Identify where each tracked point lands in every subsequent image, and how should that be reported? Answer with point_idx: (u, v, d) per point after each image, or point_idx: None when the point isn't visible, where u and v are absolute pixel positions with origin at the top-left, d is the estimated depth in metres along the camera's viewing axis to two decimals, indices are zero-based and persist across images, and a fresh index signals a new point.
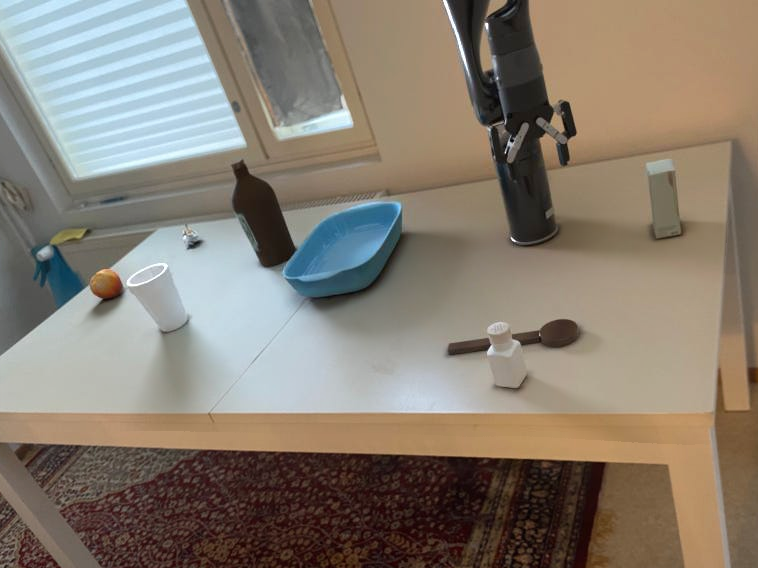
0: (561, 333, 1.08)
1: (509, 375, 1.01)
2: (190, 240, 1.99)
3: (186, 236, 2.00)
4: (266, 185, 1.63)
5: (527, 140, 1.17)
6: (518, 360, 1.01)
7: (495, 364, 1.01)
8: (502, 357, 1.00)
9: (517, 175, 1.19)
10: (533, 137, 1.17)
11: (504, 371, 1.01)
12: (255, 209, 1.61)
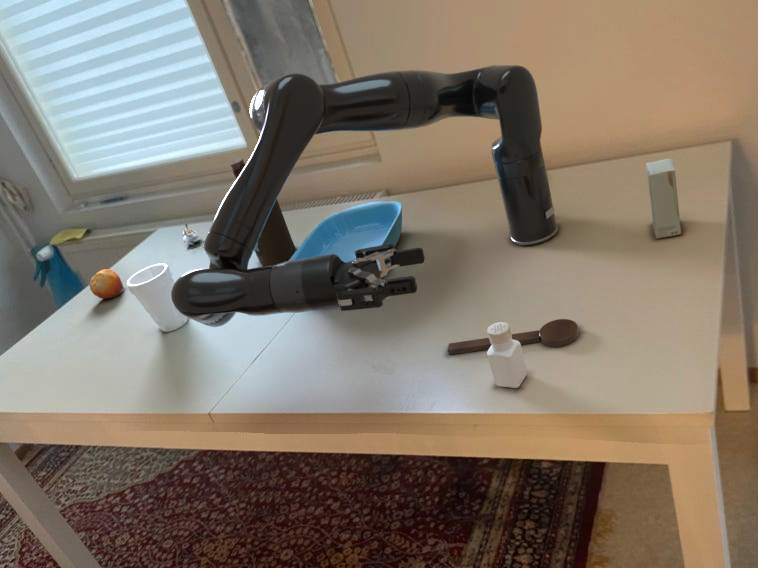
0: (561, 333, 1.08)
1: (509, 375, 1.01)
2: (190, 240, 1.99)
3: (186, 236, 2.00)
4: None
5: (378, 277, 0.99)
6: (518, 360, 1.01)
7: (495, 364, 1.01)
8: (502, 357, 1.00)
9: (415, 263, 1.00)
10: None
11: (504, 371, 1.01)
12: None
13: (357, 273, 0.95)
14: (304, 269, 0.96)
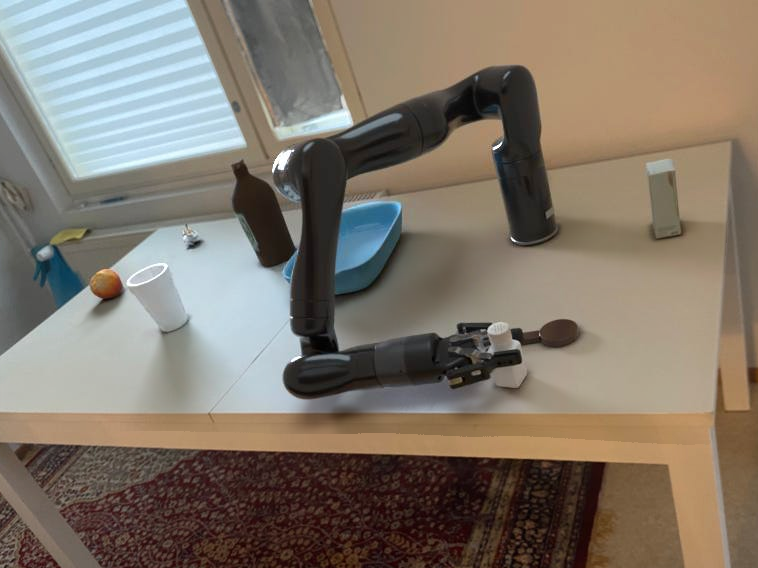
0: (561, 333, 1.08)
1: (509, 375, 1.01)
2: (190, 240, 1.99)
3: (186, 236, 2.00)
4: (266, 185, 1.63)
5: None
6: None
7: None
8: None
9: None
10: None
11: (504, 372, 1.01)
12: (255, 209, 1.61)
13: (457, 353, 1.01)
14: (406, 349, 1.03)
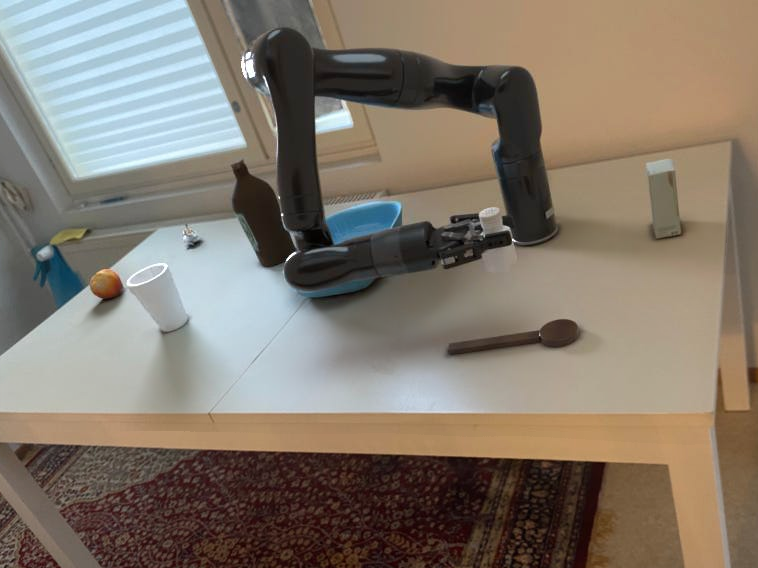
0: (561, 333, 1.08)
1: (499, 258, 1.06)
2: (190, 240, 1.99)
3: (186, 236, 2.00)
4: (266, 185, 1.63)
5: None
6: None
7: None
8: None
9: None
10: None
11: (494, 255, 1.06)
12: (255, 209, 1.61)
13: (450, 236, 1.05)
14: (401, 235, 1.07)
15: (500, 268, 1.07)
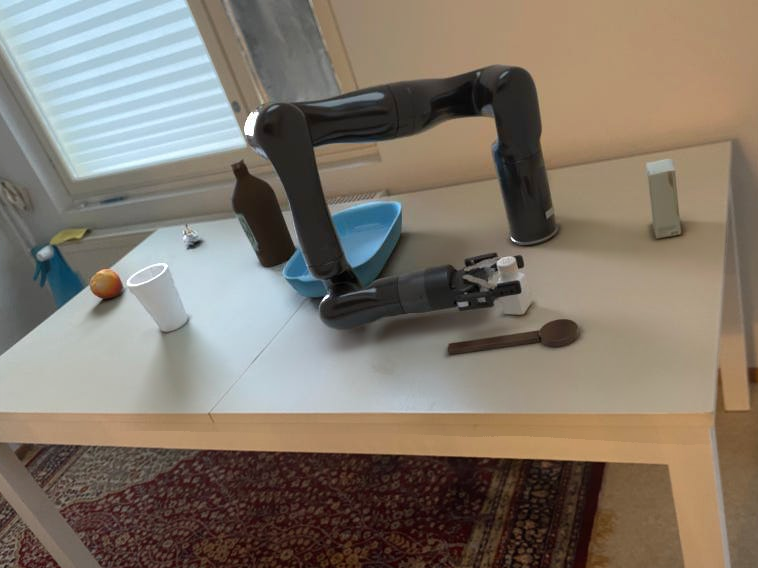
0: (561, 333, 1.08)
1: (515, 302, 1.17)
2: (190, 240, 1.99)
3: (186, 236, 2.00)
4: (266, 185, 1.63)
5: (486, 281, 1.19)
6: (523, 290, 1.17)
7: None
8: None
9: None
10: None
11: (511, 300, 1.17)
12: (255, 209, 1.61)
13: (470, 279, 1.16)
14: (426, 278, 1.18)
15: (516, 311, 1.18)
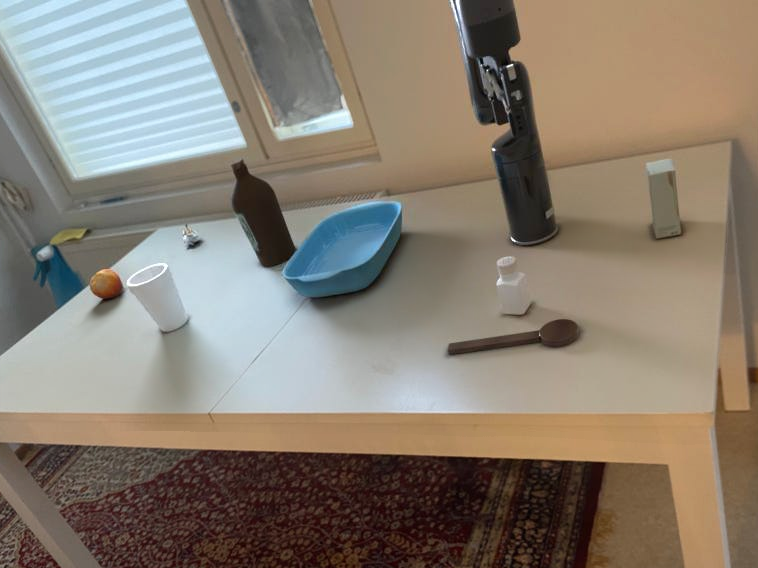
0: (561, 333, 1.08)
1: (515, 302, 1.17)
2: (190, 240, 1.99)
3: (186, 236, 2.00)
4: (266, 185, 1.63)
5: None
6: (523, 290, 1.17)
7: (503, 293, 1.17)
8: (509, 286, 1.15)
9: (495, 117, 1.06)
10: None
11: (511, 300, 1.17)
12: (255, 209, 1.61)
13: None
14: (514, 12, 0.94)
15: (516, 311, 1.18)
